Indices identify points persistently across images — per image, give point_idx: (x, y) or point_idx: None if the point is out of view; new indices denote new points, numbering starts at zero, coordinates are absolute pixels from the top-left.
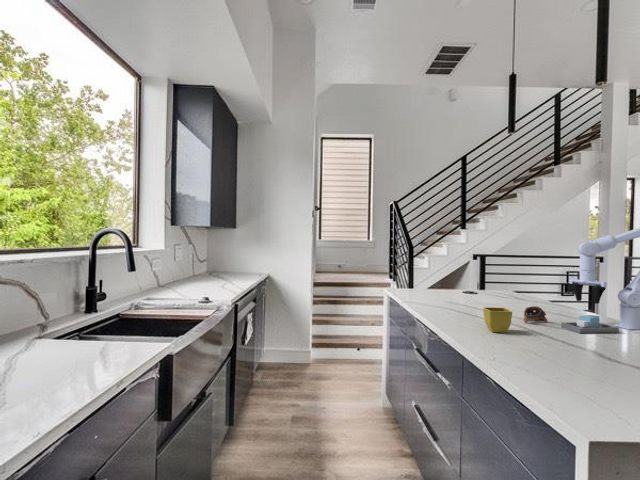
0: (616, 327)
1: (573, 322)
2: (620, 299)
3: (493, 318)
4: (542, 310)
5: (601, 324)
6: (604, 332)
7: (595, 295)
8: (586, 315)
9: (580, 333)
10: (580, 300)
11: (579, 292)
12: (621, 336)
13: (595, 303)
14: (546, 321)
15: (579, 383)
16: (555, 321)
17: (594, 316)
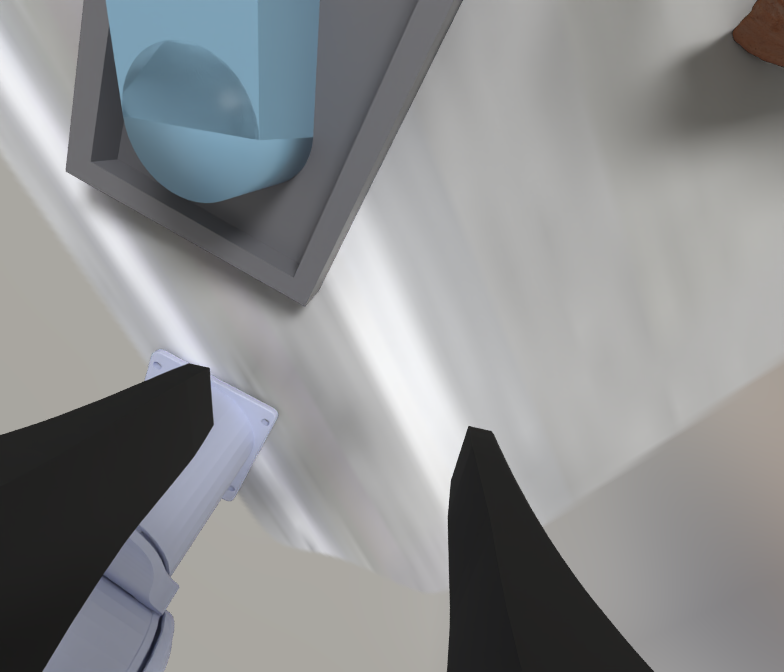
0: (88, 181)
1: (413, 56)
2: (129, 625)
3: None
4: None
5: (240, 245)
6: None
7: (56, 426)
8: (249, 99)
9: None
10: (455, 474)
11: (466, 601)
12: (3, 38)
13: (192, 365)
14: (755, 12)
15: None
16: (669, 231)
17: (164, 114)
